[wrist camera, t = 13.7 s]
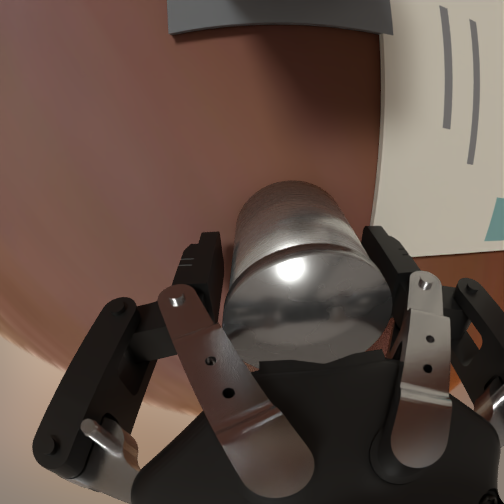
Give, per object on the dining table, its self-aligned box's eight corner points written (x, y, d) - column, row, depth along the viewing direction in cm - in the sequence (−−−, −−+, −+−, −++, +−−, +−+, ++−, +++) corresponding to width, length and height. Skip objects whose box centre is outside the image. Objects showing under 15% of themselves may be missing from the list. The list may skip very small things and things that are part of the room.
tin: (349, 177, 12) (411, 250, 7) (338, 274, 15) (370, 365, 10) (228, 181, 12) (209, 260, 7) (238, 279, 15) (232, 377, 10)
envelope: (526, 15, 4) (530, 15, 4) (505, 246, 14) (508, 249, 13) (363, -66, 5) (365, -69, 4) (364, 255, 14) (367, 259, 14)
